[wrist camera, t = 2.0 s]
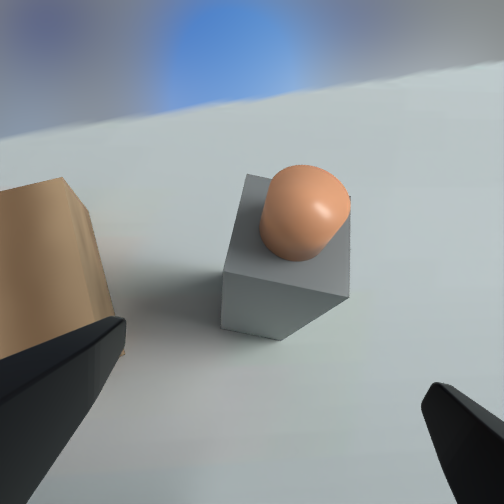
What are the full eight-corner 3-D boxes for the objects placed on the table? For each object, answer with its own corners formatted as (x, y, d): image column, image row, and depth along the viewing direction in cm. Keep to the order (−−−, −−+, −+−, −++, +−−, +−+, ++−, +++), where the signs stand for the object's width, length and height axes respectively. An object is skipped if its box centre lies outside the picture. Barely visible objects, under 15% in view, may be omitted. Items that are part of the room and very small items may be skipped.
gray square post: (281, 340, 19) (381, 277, 7) (220, 328, 19) (224, 243, 7) (288, 283, 21) (376, 160, 9) (233, 271, 21) (252, 133, 9)
